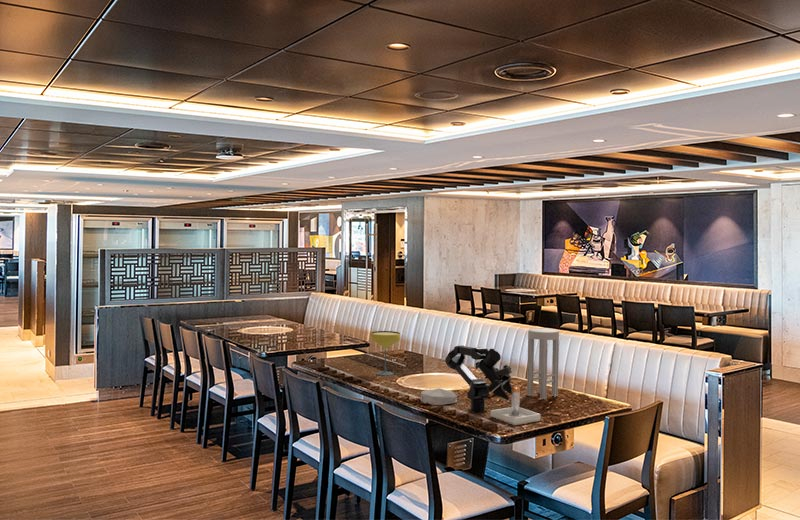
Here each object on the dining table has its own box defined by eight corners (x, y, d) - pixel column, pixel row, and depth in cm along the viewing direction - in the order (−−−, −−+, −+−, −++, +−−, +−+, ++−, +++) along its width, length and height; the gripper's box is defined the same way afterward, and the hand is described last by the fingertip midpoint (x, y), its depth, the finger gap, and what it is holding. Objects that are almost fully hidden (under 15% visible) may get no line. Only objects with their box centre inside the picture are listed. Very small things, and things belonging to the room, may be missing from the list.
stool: (563, 396, 343) (564, 330, 342) (544, 400, 333) (545, 333, 332) (540, 391, 355) (541, 327, 354) (521, 395, 346) (522, 329, 345)
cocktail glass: (393, 378, 384) (394, 335, 383) (365, 375, 390) (366, 333, 389) (404, 372, 400) (404, 332, 400) (377, 370, 407) (377, 330, 406)
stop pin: (507, 415, 301) (507, 386, 301) (519, 415, 302) (520, 386, 302) (510, 418, 295) (511, 389, 295) (523, 418, 296) (524, 389, 296)
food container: (413, 398, 337) (413, 385, 336) (448, 395, 344) (448, 382, 344) (428, 408, 318) (428, 394, 318) (465, 404, 325) (465, 391, 325)
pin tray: (490, 416, 301) (490, 410, 301) (516, 412, 310) (516, 406, 309) (513, 425, 288) (513, 418, 287) (540, 420, 296) (540, 414, 296)
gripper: (494, 363, 293) (517, 390, 288) (507, 356, 310) (529, 382, 305) (477, 378, 297) (500, 405, 292) (491, 371, 314) (512, 397, 309)
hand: (511, 397), depth 300 cm, fingers open, 9 cm apart
